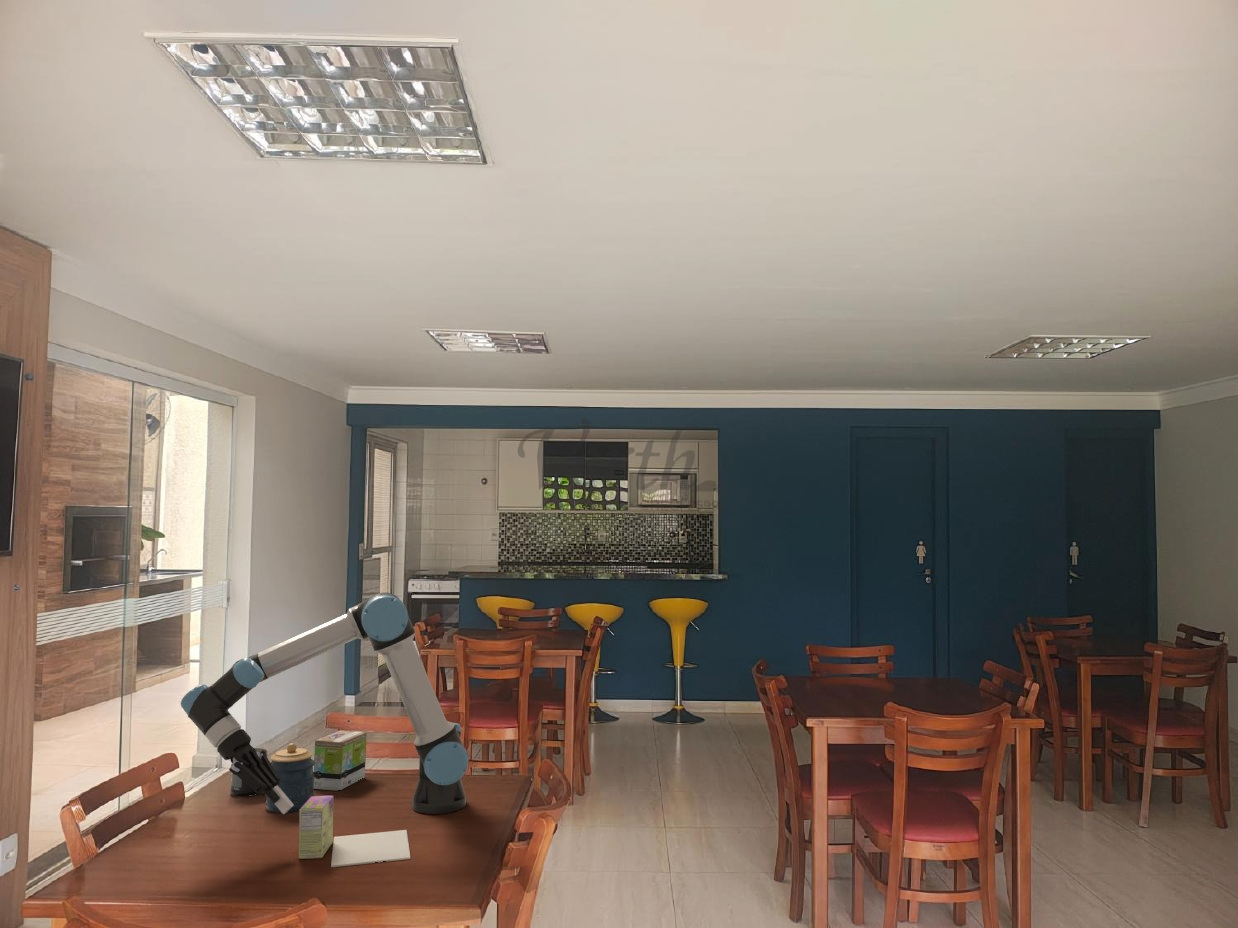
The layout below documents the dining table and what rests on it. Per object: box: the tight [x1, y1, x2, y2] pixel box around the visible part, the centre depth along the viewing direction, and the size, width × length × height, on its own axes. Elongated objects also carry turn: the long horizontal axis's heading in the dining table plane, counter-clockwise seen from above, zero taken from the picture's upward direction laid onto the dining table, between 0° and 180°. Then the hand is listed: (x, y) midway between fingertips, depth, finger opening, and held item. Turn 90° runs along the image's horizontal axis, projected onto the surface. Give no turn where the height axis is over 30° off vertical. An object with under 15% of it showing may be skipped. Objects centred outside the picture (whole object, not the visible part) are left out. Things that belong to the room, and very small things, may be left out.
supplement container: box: [229, 747, 268, 797], centre depth 257 cm, size 10×10×12 cm
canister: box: [265, 742, 315, 814], centre depth 244 cm, size 13×13×18 cm
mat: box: [330, 829, 411, 868], centre depth 210 cm, size 18×20×1 cm
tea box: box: [313, 730, 368, 791], centre depth 266 cm, size 15×10×15 cm
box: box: [298, 795, 334, 860], centre depth 209 cm, size 10×6×12 cm, turn 5°
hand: (288, 809), depth 210 cm, fingers closed
